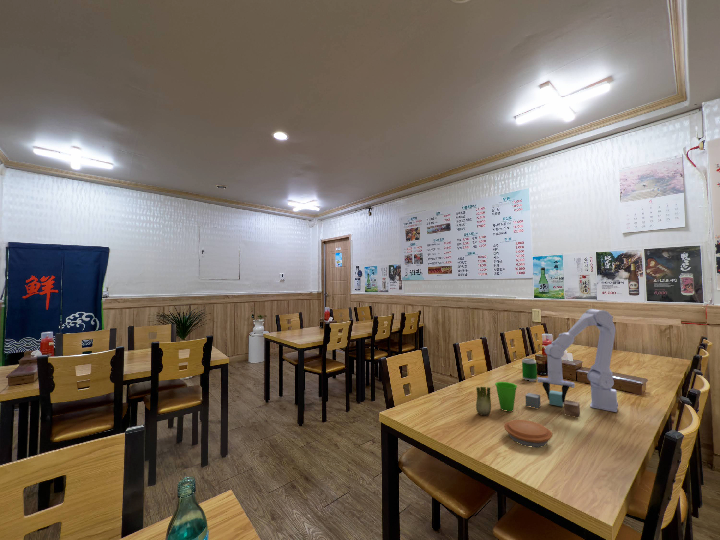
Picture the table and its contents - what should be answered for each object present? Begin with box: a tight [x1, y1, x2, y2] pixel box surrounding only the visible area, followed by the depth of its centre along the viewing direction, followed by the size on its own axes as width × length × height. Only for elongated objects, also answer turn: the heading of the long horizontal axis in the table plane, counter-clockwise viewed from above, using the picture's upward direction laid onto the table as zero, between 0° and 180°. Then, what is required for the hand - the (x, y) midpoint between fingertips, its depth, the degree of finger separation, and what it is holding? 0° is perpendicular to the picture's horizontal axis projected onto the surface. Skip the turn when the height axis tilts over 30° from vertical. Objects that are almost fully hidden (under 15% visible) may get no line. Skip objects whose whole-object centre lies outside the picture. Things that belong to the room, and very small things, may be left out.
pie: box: [503, 419, 553, 448], centre depth 113 cm, size 15×16×5 cm
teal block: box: [548, 389, 564, 407], centre depth 145 cm, size 5×5×5 cm
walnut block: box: [563, 399, 581, 418], centre depth 134 cm, size 5×5×5 cm
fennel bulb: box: [475, 386, 492, 416], centre depth 135 cm, size 6×5×12 cm
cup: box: [494, 381, 518, 412], centre depth 141 cm, size 9×9×11 cm
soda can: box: [521, 357, 538, 382], centre depth 184 cm, size 8×8×12 cm
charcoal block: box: [524, 392, 541, 409], centre depth 144 cm, size 5×5×5 cm
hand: (556, 400), depth 145 cm, fingers closed on teal block, 5 cm apart
